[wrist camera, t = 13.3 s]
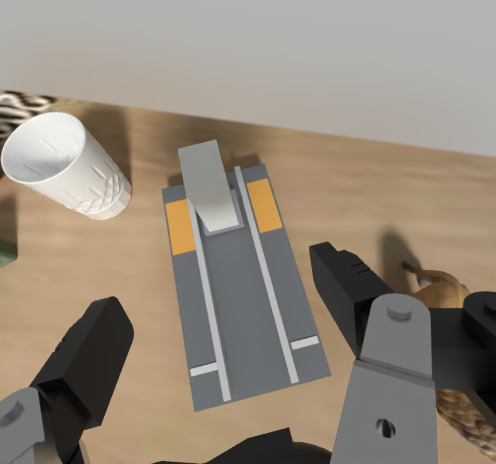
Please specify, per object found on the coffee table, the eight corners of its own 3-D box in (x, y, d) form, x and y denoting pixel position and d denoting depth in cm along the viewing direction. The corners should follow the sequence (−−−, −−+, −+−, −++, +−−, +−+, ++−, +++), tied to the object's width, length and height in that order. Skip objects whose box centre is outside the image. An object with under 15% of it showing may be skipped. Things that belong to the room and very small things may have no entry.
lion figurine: (472, 423, 23) (594, 483, 14) (410, 426, 23) (493, 486, 14) (423, 260, 28) (492, 232, 19) (373, 263, 28) (419, 237, 19)
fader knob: (235, 193, 28) (222, 137, 20) (244, 226, 27) (234, 182, 18) (200, 202, 28) (171, 150, 20) (206, 236, 27) (178, 196, 18)
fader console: (264, 177, 32) (264, 155, 28) (324, 369, 25) (336, 379, 21) (170, 201, 32) (156, 182, 28) (202, 401, 25) (189, 418, 20)
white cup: (81, 234, 31) (2, 196, 22) (72, 182, 34) (-2, 128, 25) (143, 211, 32) (91, 164, 23) (129, 161, 35) (78, 100, 25)
